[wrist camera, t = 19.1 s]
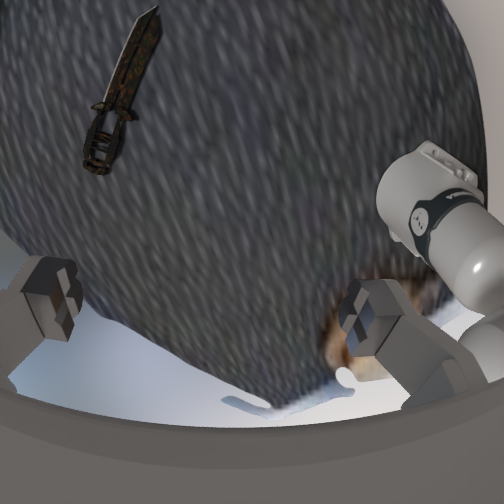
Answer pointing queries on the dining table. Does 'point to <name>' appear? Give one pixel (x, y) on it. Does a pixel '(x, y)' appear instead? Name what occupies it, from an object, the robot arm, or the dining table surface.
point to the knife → (126, 89)
